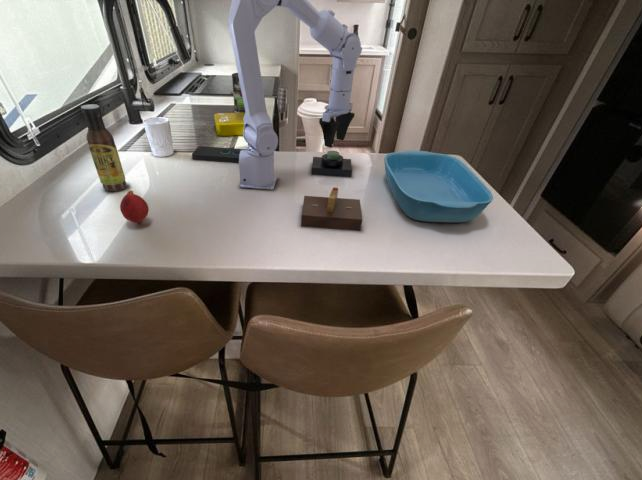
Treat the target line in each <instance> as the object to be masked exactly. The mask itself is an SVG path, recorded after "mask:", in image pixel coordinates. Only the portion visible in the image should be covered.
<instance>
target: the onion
mask: <svg viewBox="0 0 642 480" xmlns="http://www.w3.org/2000/svg"><path fill="white" fill-rule="evenodd" d="M119 210H120V212H121V215H122V216H123V218H124V219H126V220H127V221H130V223H131V222H132V223H135V224H142V223H143V221H144V220H145V219H146V218H147V217H148V214H149V211H150V209H149V205H148V203H147V202H146V200H145V199H144V198H143V197H142V196H140V195H138V194H136V193H134V191H133V190H132V189H128V190H127V192H126V194H125V195H124V196H123V197H122V199H121V201H120V203H119Z"/></svg>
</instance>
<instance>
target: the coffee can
mask: <svg viewBox="0 0 642 480" xmlns="http://www.w3.org/2000/svg"><path fill="white" fill-rule="evenodd" d="M231 79H232V80H231V81H232V92H233V107H234V108H233V109H234V113H242V112H245V107H244V102H243V97H242V92H241V87H240V82H239V77H238V72H233V73H232V74H231Z"/></svg>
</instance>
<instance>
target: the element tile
mask: <svg viewBox="0 0 642 480" xmlns="http://www.w3.org/2000/svg"><path fill="white" fill-rule="evenodd" d="M245 113H246V112H242V113H235V112H217V113H215V114H213V118H214V119H213V120H214V127H215V132H216V135H217V136H218V137H234V136H235V137H238V136H243V129H244V120H243V118H244V116H245Z"/></svg>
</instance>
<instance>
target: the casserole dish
mask: <svg viewBox="0 0 642 480" xmlns="http://www.w3.org/2000/svg"><path fill="white" fill-rule="evenodd" d="M384 171H385V179H386V181H387V184H388V186H389V188H390V190H391V193H392V195H393V196H394V198H395V200H396V202H397V204H398V206H399V207H400V209H401V210H402V211H403V213H404V214H405V215H406V216H408V217H409V218H411V219H412V220H415V221H418V222H426V223H427V222H428V223H465V222H469V221H472V220H473V219H476V218H477V217H478V216H480V214H481V213H483V212H484V210H485V209H486V208H487V207H488V206H489V205H490V204H491V203H492V202H493V200H494V195H493V193H492V191H491V190H490V189H489V188H488V187H487V186H486V184H485V183H483V181H482V180H480V178H479V177H477V175H476V174H475V173H474V172H473V171H472V170H471V169H470V168H469V167H468V166H467V165H466V164H465V163H464V162H463V161H461V160H460V159H458V158H457V157H455V156H452V155H449V154H446V153H445V154H444V153H438V152H432V151H425V150H403V151H402V150H401V151H394V152H389V153H387V154H386V155H385V156H384Z"/></svg>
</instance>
